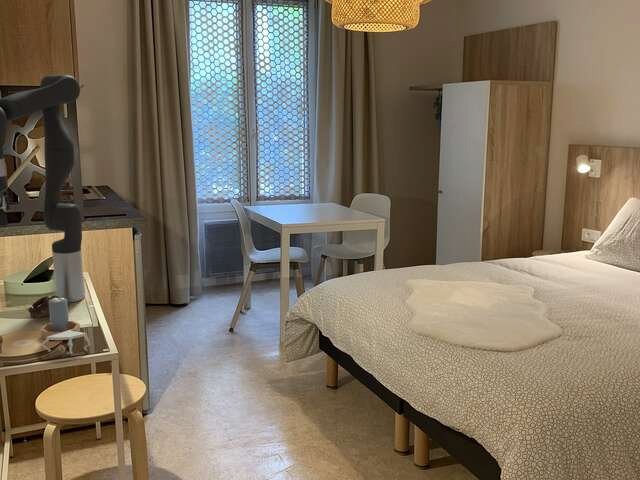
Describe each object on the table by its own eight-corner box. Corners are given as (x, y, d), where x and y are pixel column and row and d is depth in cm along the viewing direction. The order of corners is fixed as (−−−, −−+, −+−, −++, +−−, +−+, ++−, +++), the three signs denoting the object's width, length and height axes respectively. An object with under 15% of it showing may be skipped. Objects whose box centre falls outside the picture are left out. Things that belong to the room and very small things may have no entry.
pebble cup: (54, 329, 194) (51, 296, 192) (71, 329, 195) (69, 295, 193) (48, 335, 190) (46, 301, 187) (66, 335, 190) (63, 301, 188)
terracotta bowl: (49, 328, 197) (48, 320, 196) (83, 328, 198) (82, 320, 197) (37, 341, 187) (37, 333, 187) (73, 340, 188) (72, 332, 188)
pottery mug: (61, 325, 201) (44, 305, 198) (36, 336, 203) (20, 316, 200) (74, 304, 212) (59, 284, 209) (51, 314, 214) (35, 295, 211)
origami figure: (84, 341, 188) (83, 325, 187) (91, 351, 181) (90, 334, 180) (39, 349, 182) (38, 333, 180) (45, 360, 175) (43, 343, 174)
